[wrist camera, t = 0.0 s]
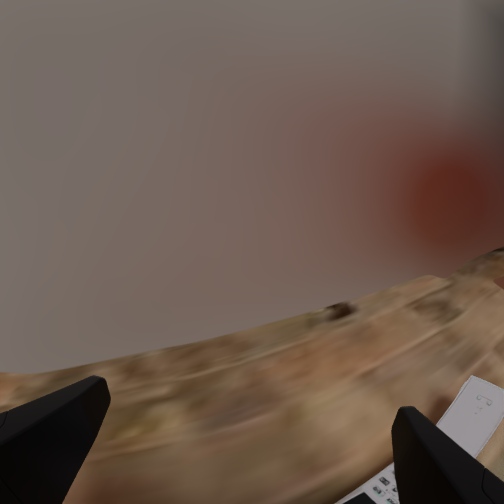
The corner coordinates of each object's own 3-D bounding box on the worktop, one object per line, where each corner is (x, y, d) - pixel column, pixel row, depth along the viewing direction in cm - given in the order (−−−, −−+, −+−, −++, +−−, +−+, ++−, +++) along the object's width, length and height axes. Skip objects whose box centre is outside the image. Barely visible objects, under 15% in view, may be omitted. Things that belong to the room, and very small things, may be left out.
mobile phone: (518, 394, 20) (316, 596, 8) (494, 438, 21) (299, 611, 9) (472, 371, 25) (252, 522, 13) (453, 415, 26) (250, 554, 14)
